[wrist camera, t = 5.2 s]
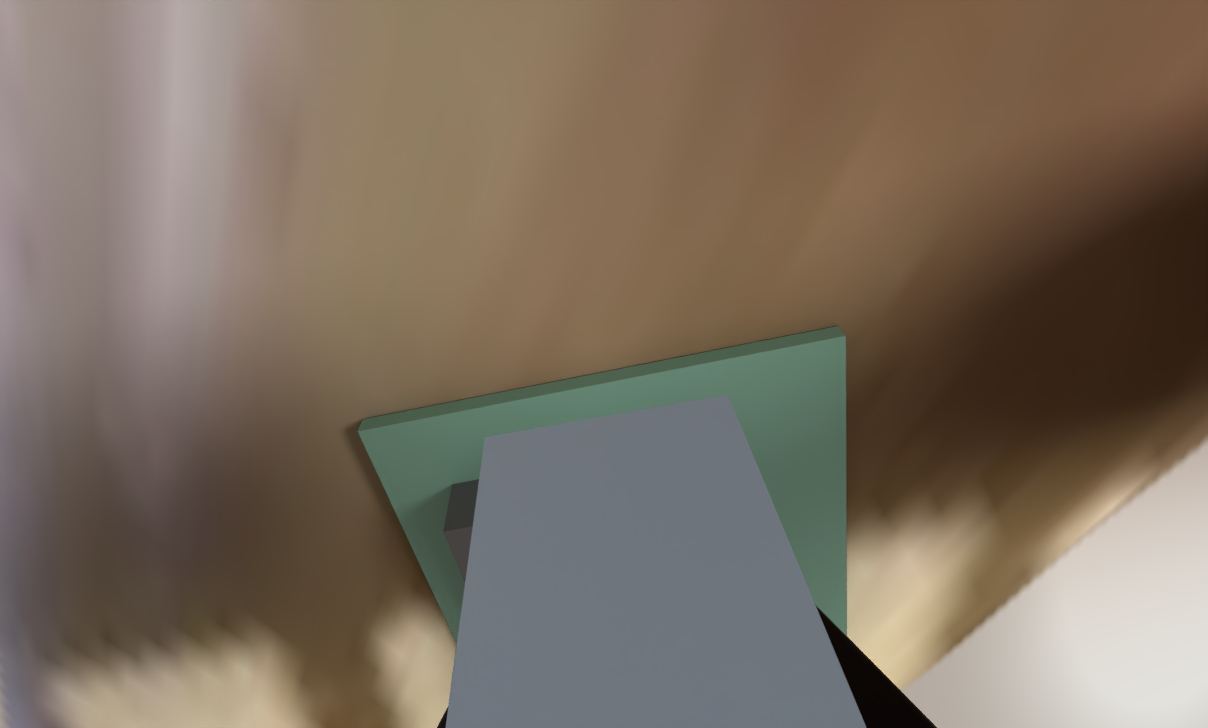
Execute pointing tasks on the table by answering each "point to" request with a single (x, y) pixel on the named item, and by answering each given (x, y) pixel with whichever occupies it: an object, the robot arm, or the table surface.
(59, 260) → the table surface
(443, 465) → the circuit board
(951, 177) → the table surface
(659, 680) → the plug
